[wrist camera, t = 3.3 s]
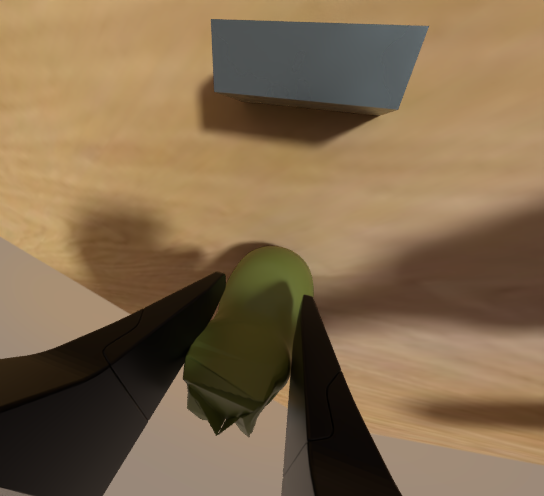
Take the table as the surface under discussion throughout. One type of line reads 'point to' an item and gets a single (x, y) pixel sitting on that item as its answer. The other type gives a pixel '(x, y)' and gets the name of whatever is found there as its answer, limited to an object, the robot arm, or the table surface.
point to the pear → (248, 340)
